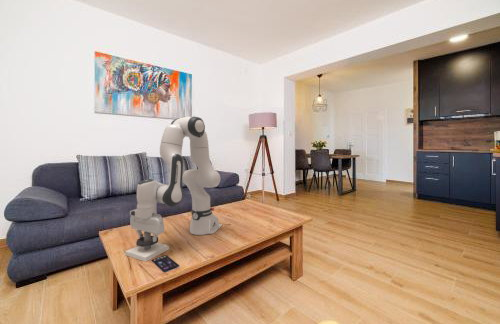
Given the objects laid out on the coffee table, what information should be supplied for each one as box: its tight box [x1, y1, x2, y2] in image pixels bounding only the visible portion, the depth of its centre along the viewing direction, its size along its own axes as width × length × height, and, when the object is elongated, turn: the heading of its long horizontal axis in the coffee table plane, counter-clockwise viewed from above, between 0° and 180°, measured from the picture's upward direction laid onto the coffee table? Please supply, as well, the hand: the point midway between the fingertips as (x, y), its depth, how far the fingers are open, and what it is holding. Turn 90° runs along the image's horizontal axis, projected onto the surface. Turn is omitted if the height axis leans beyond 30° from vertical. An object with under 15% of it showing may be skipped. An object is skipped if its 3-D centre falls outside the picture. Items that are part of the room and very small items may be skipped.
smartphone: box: [150, 254, 181, 274], centre depth 100 cm, size 8×1×15 cm
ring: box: [135, 235, 159, 247], centre depth 110 cm, size 10×10×1 cm
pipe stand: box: [124, 231, 170, 263], centre depth 110 cm, size 14×14×10 cm
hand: (147, 239), depth 110 cm, fingers open, 8 cm apart
